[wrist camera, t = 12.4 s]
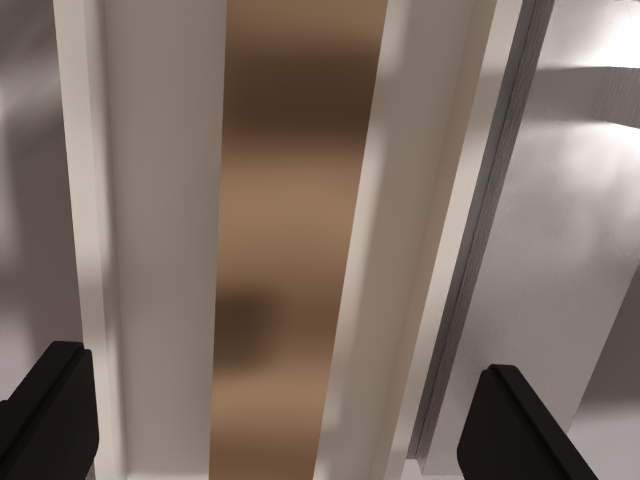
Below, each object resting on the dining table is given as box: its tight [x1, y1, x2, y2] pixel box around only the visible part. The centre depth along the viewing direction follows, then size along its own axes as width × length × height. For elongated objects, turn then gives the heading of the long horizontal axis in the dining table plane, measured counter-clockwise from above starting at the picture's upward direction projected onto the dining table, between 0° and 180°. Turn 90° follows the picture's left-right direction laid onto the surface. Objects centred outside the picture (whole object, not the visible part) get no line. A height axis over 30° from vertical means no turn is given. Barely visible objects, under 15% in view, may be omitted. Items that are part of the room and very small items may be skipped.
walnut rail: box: [209, 0, 388, 480], centre depth 17 cm, size 22×4×4 cm, turn 173°
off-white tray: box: [53, 0, 523, 480], centre depth 18 cm, size 28×14×2 cm, turn 173°
